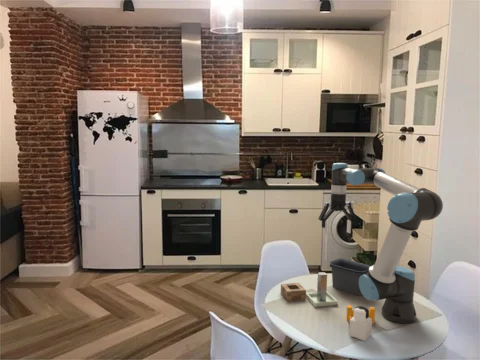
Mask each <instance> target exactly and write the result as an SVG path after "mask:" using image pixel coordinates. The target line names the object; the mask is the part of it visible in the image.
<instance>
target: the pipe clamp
mask: <svg viewBox="0 0 480 360" xmlns="http://www.w3.org/2000/svg"><path fill="white" fill-rule="evenodd" d="M368 310H369V318H371V319H372V324H375V316H376V308H375V307H374V306H369V309H368ZM352 317H354V309H353V306H352V305H350V304H347V305H346V321H347V322H350V319H351V318H352Z"/></svg>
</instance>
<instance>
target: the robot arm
mask: <svg viewBox="0 0 480 360" xmlns="http://www.w3.org/2000/svg"><path fill="white" fill-rule="evenodd" d="M362 184H363V185H364V184H365V185H366V184H371V185H373V186H375V187H378V188H379V189H382V190H383V191H385V192H388V193H390V194H392V195H393V196H392V197H391V198H390V199H389V200H388V203H387V208H386V209H387V215H388V219H389V221H390V225H389V228H388V230H387V233H386V235H385V237H384V241H383V243H382V245H381V247H380V250H379V253H378V255H377V258H376V260H375V262H374V264H373V265H370V266H371V267H370V268H369V270H368V273H367V274H366V275H365V274H364V275H362V276H360V278H359V288H360V291H361V293H362V294H361V295H362V296H363V297H364V299H366V300H367V301H370V302H375V301H376V302H377V301H381V300H385V301H384V303H383V305H382V307H381V312H380V313H381V316H382V317H384V318H385V319H387V320H389V321H391V322H394V323H398V324H411V323H415V322H416V320H417V312H416V308H415V305H414V295H415V286H416V285H415V283H416V275H415V272H414V271H413V270H412V269H410V268H407V267H403V266H399V263H400V260H401V258H402V256H403V254H404V251H405V250H406V247H407V245H408V242H409V240H410V238H411V236H412V233H413V232H415V231H417V230H418V229H419V228H420V225H421V222H423V221H430V220H434V219H435V218H438V217H439V216H440V215H441V214H442V211H443V208H444V207H443V206H444V204H443V200H442V198H441V196H440V195H438V194H437V193H436V192H434V191H433V190H431V189H427V188H426V187H417V186H415V185H414V184H413V185H412V184H411V183H408V182H406V181H404V180H402V179H399V178H397V177H395V176H392V175H391V174H388V173H386V171H385V170H384V169H383V168H380V167H372V168H369V167H368V168H349V167H348V163H345V162H336V163H335V162H334V163H333V164H332V167H331V188H330V190H331V193H330V202H327V201H325V203H324V206H323V208H322V210H321V212H320V214H319V217H318V220H319V221H321V228H322V233H323V235H327V231H328V230H327V228H328V221H327V220H328V219H329V218H330V216H331V215H332V214H333V213H335V212H343V214H344V215H345V217H346V218H347V219H346V233H347V234H351V230H352V227H353V222H354V221H355V220H357V216H356V213H355V211H354V209H353V207H352V202H351V201H346V200H347V185H352V186H360V185H362ZM345 207H347V208H345ZM328 209H329V210H328ZM347 210H348V211H347Z"/></svg>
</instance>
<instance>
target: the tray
mask: <svg viewBox="0 0 480 360" xmlns="http://www.w3.org/2000/svg"><path fill="white" fill-rule="evenodd" d="M306 299H307V300H308V301H309V302H310V304H311V303H312V304H311V305H312V306H313V307H314V308H323V307H324V306H325V307H333V305H335V306H338V303H339V300H337V299H336V298H335V297H334V296H333V295H332V294H331V293H330V292H329V291H328V290H326V301H323V302H319V301H318V300H317V291H316V292H306Z"/></svg>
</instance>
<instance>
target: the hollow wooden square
mask: <svg viewBox="0 0 480 360" xmlns="http://www.w3.org/2000/svg"><path fill="white" fill-rule="evenodd" d="M306 293H307V289H306V288H304V286H302V285H301V283H300V282H292V283H290V282H289V283H281V284H280V294H281V295H282V297H284V299H285V300H286V301H289V302H291V301H302V300H306V299H307V298H306Z"/></svg>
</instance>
